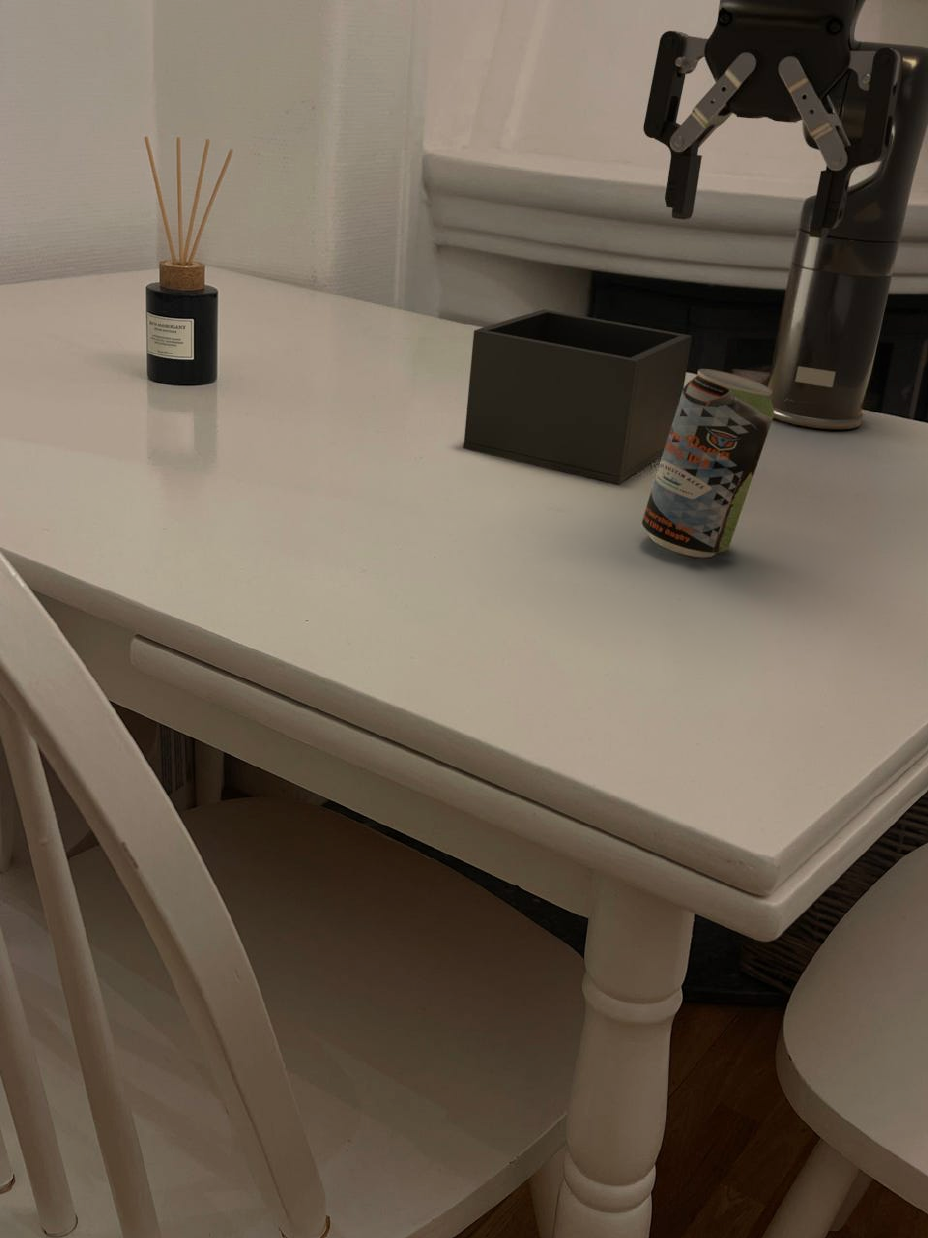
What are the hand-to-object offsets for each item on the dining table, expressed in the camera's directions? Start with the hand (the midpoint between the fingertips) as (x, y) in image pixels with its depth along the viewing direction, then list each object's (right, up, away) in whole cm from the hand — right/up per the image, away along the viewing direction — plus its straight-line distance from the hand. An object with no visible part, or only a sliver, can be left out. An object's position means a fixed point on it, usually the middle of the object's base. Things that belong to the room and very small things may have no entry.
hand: (747, 227), depth 77 cm
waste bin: (-8, -10, +29) cm, 31 cm away
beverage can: (-2, -19, +9) cm, 21 cm away
